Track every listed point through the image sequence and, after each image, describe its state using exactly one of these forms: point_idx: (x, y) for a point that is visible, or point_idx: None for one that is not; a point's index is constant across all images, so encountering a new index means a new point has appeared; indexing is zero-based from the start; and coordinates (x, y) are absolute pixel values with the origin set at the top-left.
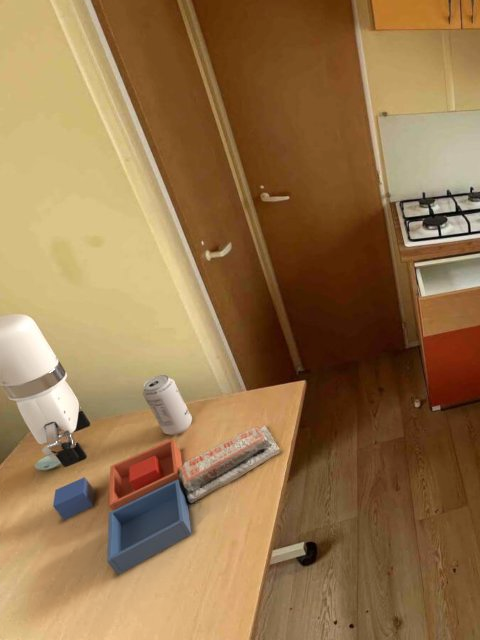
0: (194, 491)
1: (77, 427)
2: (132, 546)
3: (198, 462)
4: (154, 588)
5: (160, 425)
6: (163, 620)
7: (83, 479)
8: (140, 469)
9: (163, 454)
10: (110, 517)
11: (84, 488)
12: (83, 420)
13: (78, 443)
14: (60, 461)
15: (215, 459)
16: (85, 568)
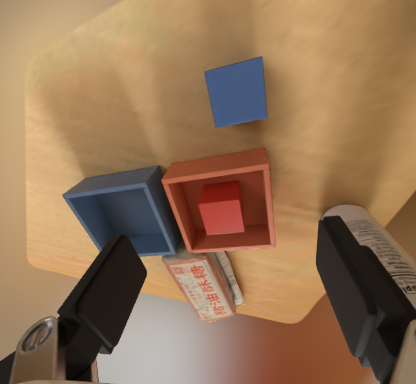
0: None
1: (324, 255)
2: (78, 218)
3: (193, 274)
4: (65, 212)
5: (344, 221)
6: (35, 221)
7: (259, 117)
8: (219, 216)
9: (266, 217)
10: (134, 186)
11: (231, 124)
12: (331, 299)
13: (111, 347)
14: (95, 260)
15: (189, 287)
16: (101, 138)
